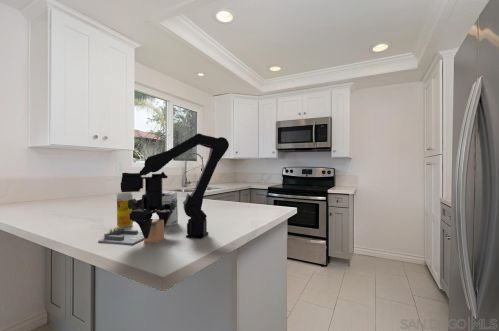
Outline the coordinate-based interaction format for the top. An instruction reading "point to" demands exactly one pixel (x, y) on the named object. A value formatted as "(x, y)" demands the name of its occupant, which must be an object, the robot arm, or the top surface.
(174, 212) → the syrup box
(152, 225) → the block
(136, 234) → the flat gray board
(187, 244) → the top surface
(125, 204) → the beer can
